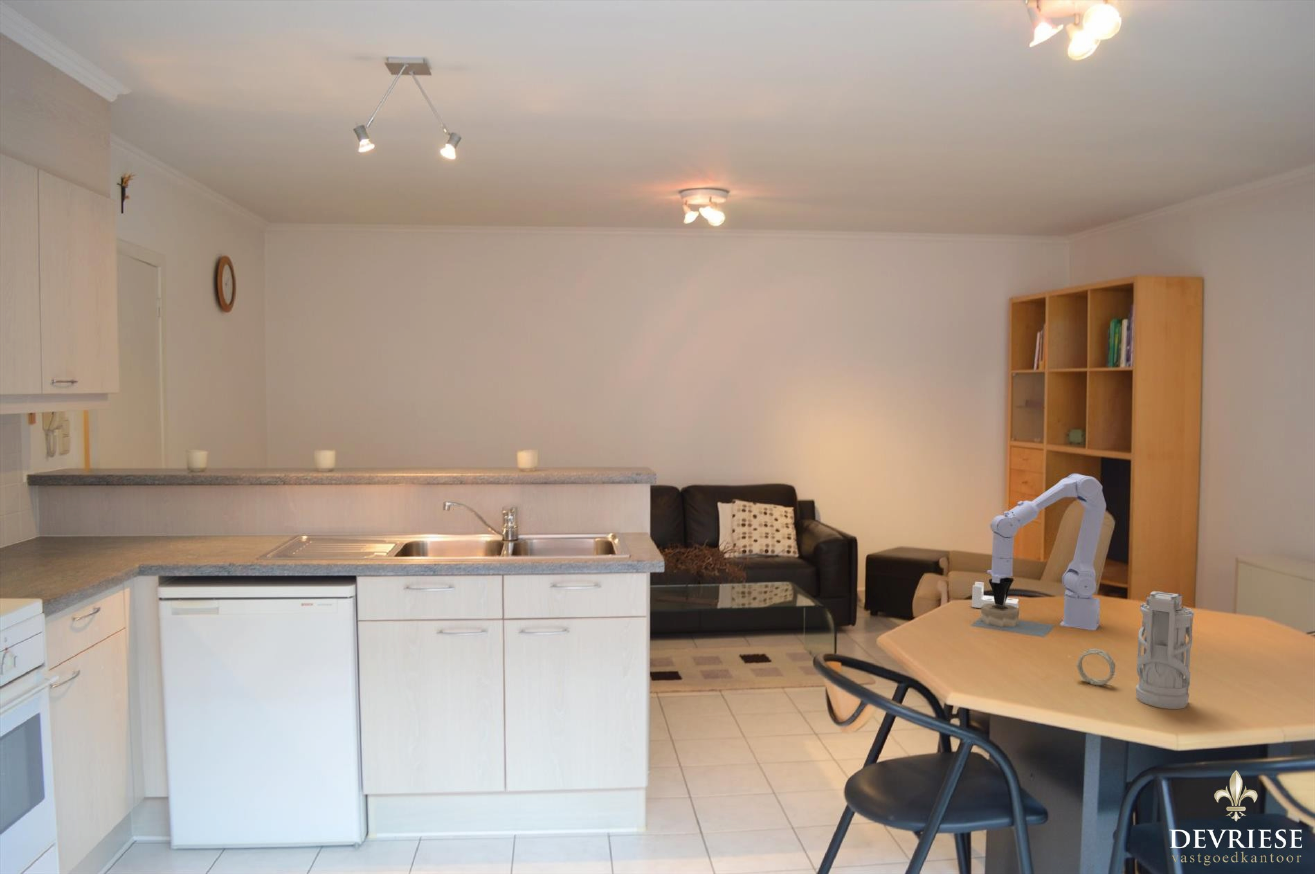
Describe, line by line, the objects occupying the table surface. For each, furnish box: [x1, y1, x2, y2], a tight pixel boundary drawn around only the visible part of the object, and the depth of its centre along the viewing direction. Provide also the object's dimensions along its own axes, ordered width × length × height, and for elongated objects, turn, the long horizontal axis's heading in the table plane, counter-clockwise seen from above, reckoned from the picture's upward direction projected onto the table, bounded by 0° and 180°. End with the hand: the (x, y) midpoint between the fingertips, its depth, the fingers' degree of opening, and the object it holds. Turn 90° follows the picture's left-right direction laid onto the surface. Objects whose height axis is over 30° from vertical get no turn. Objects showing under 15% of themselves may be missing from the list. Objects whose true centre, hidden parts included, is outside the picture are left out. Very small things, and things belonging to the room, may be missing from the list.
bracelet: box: [1076, 648, 1116, 686], centre depth 220 cm, size 4×8×8 cm, turn 54°
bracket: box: [971, 581, 1020, 609], centre depth 293 cm, size 13×7×8 cm, turn 65°
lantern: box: [1135, 590, 1195, 710], centre depth 207 cm, size 13×10×25 cm
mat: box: [970, 617, 1056, 638], centre depth 272 cm, size 20×16×1 cm
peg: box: [995, 599, 1005, 609], centre depth 275 cm, size 3×3×8 cm
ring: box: [980, 603, 1020, 627], centre depth 275 cm, size 10×10×4 cm
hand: (1000, 603), depth 275 cm, fingers closed on peg, 3 cm apart
